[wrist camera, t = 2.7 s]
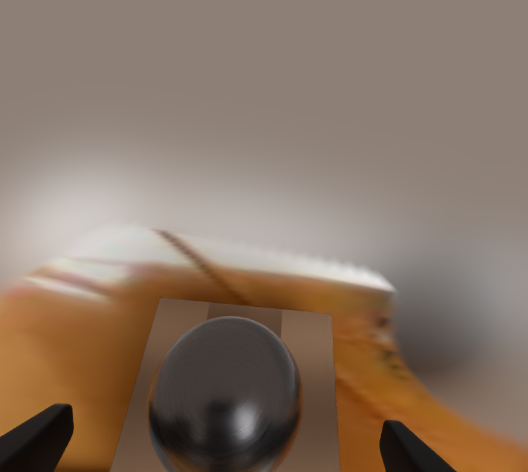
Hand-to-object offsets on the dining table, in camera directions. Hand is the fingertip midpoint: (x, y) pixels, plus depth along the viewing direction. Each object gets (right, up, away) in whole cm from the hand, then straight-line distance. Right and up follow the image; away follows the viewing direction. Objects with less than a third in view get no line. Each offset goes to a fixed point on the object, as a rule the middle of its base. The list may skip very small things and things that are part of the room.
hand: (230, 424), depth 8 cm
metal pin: (-1, -4, +8) cm, 9 cm away
